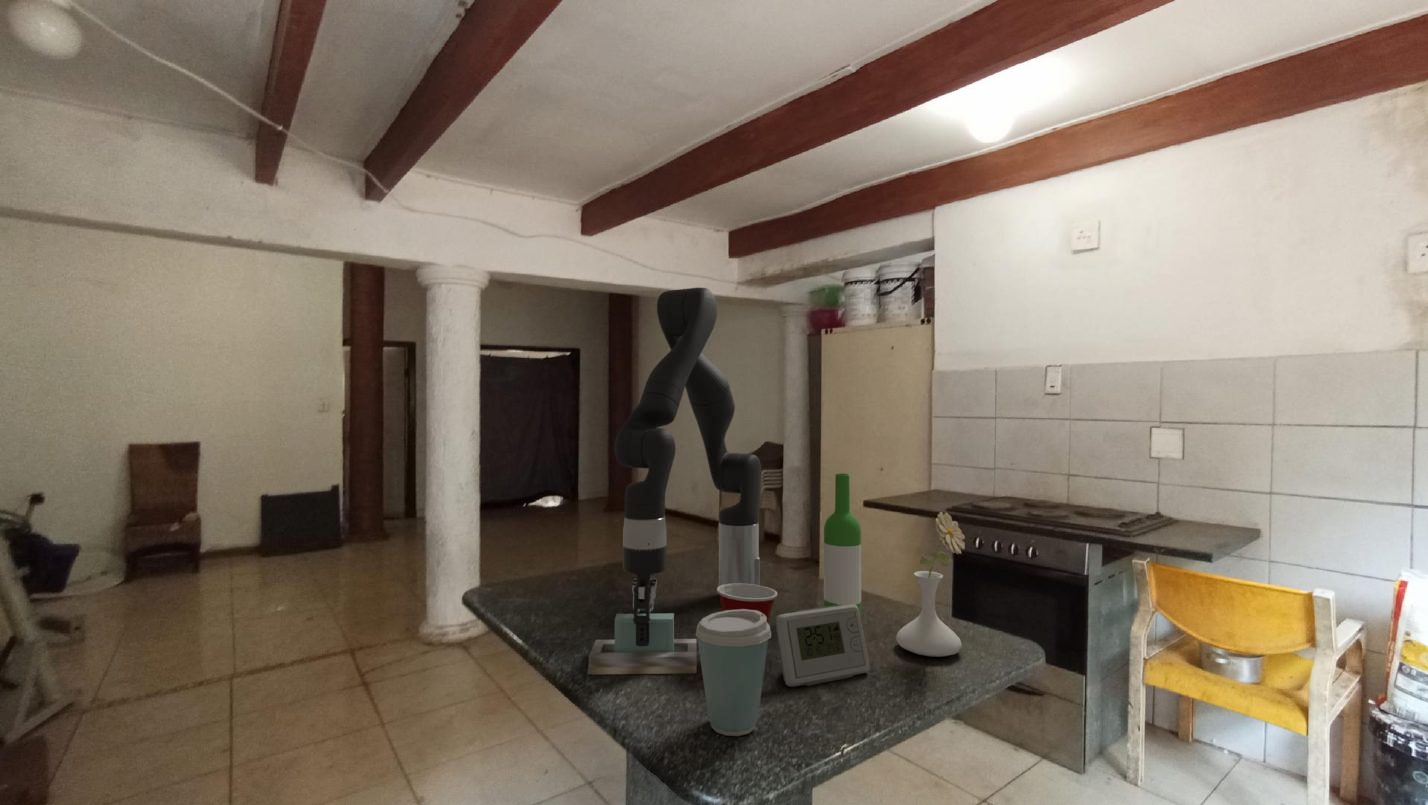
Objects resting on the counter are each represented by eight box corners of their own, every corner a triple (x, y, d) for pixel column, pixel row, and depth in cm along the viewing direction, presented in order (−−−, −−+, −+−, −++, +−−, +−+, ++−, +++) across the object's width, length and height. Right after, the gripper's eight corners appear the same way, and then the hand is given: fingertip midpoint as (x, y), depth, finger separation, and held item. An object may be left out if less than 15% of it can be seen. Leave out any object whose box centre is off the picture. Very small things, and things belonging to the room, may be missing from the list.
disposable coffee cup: (701, 748, 82) (701, 632, 82) (690, 709, 93) (690, 606, 93) (780, 741, 84) (780, 627, 84) (760, 703, 94) (760, 603, 95)
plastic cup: (790, 660, 111) (790, 591, 111) (738, 673, 105) (738, 601, 105) (754, 640, 120) (754, 577, 120) (705, 652, 114) (705, 585, 114)
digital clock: (783, 691, 99) (783, 623, 99) (767, 668, 107) (767, 605, 108) (880, 683, 102) (880, 616, 102) (856, 660, 111) (856, 599, 111)
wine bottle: (835, 607, 140) (835, 471, 140) (867, 615, 134) (867, 474, 135) (816, 616, 134) (816, 474, 134) (849, 624, 129) (849, 477, 129)
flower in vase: (924, 667, 108) (924, 520, 108) (883, 643, 118) (883, 510, 119) (983, 656, 113) (983, 515, 113) (938, 634, 123) (938, 506, 123)
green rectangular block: (673, 653, 112) (673, 613, 112) (673, 660, 108) (673, 619, 108) (616, 653, 111) (616, 613, 111) (614, 661, 108) (614, 620, 108)
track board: (696, 650, 115) (696, 636, 115) (696, 673, 105) (696, 658, 105) (596, 651, 115) (596, 637, 115) (587, 674, 105) (587, 659, 105)
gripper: (664, 552, 103) (664, 652, 103) (668, 534, 117) (667, 622, 117) (618, 552, 103) (617, 652, 103) (627, 534, 117) (627, 622, 117)
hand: (644, 636), depth 110 cm, fingers open, 8 cm apart
